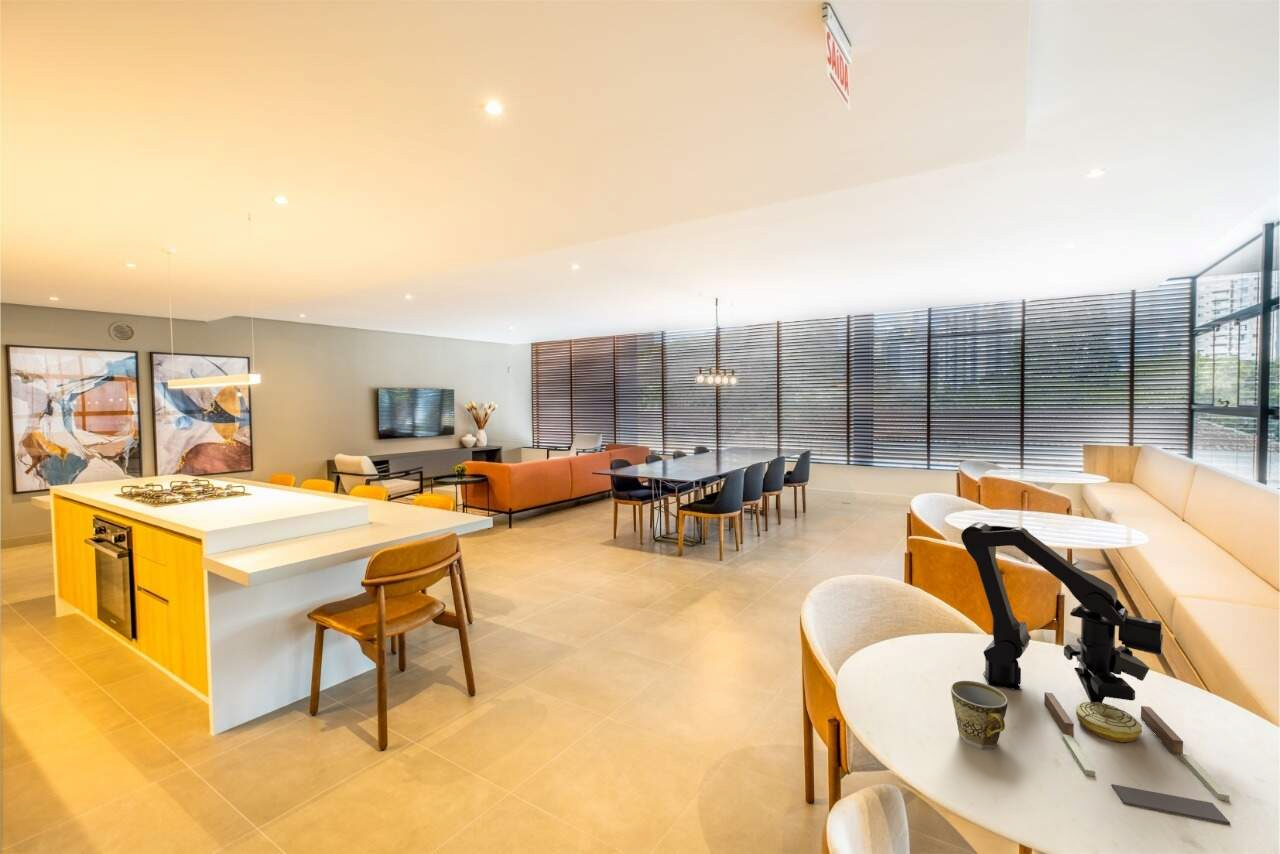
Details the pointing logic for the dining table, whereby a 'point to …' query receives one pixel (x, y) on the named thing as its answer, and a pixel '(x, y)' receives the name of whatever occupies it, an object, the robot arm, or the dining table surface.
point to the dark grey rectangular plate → (1170, 804)
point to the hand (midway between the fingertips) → (1095, 707)
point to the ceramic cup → (979, 713)
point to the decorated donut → (1108, 721)
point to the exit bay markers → (1187, 759)
